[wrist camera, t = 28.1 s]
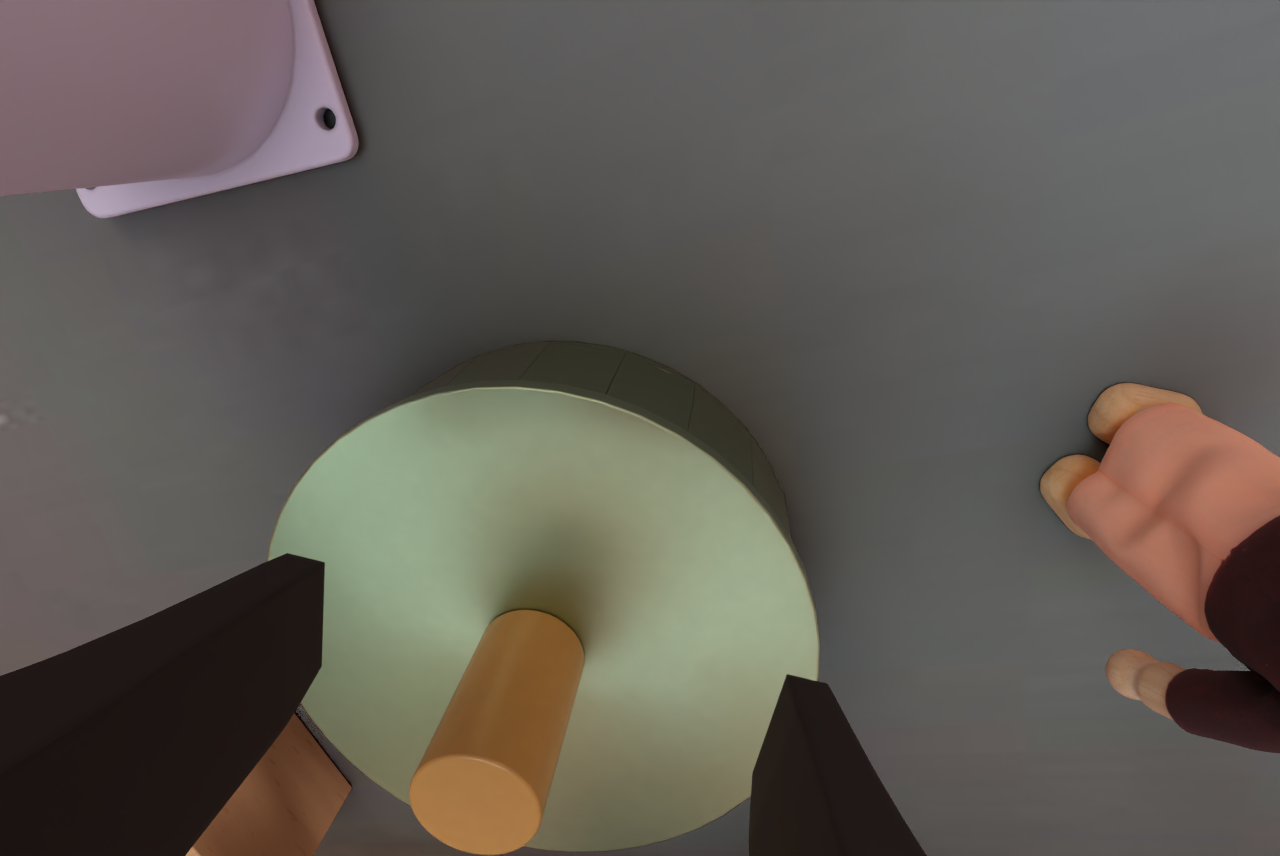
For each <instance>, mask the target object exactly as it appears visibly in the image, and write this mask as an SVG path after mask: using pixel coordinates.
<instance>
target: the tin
mask: <svg viewBox="0 0 1280 856" xmlns="http://www.w3.org/2000/svg"><path fill="white" fill-rule="evenodd" d="M498 380H526V381H536V382H546V383H555V384H564V385H568V386H572V387H577V388H581V389H585V390H590V391H594V392H598V393H603V394H606V395H608V396H611V397H614V398H617V399H619V400H622V401H625V402H628V403H630V404H633V405H636V406H639V407H641V408H644V409H646V410H648V411H650V412H652V413H654V414H655V415H657V416H659V417H661V418H663V419H665V420H667V421H669V422H671V423H673V424H675V425H677V426H679V427H681V428H682V429H684V430H685V431H687V432H688V433H690V434H691V435H693V436H694V437H696V438H697V439H699V440H700V441H702V442H703V443H705V444H706V445H707V446H709V447H710V448H712V449H713V450H715V451H716V452H717V453H718V454H719V455H720V456H722V457H723V458H724V459H725V460H726V461H727V462H728V463H730V464H731V465H732V466H733V467H734V468H735V469H736V470H737V471H739V472H740V473H741V474H742V475H743V476H744V477H745V478H746V479H747V480H748V481H749V482H750V484H751V485H752V486H753V487H754V488H755V489H756V490H757V492H758V493H759V494H760V495H761V496H762V497H763V498H764V500H765V501H766V502H767V503H768V504H769V505H770V507H771V508H772V510H773V511H774V513H775V514H776V516H777V517H778V519H779V520H780V522H781V524H782V525H783V527H784V528H785V530H786V531H787V533H788V534H789V536H790V538H791V535H790V528H789V521H788V516H787V509H786V503H785V497H784V495H783V492H782V491H781V489H780V487H779V485H778V483H777V480H776V478H775V475H774V473H773V470H772V468H771V467H770V465H769V463H768V461H767V460H766V458H765V456H764V454H763V453H762V451H761V449H760V447H759V446H758V444H757V443H756V442H755V440H754V439H753V438H752V436H751V435H750V434H749V433H748V431H747V430H746V429H745V427H744V426H743V425H742V424H741V422H740V421H739V420H738V419H737V418H736V417H735V416H734V415H733V414H732V413H731V412H730V411H729V410H728V409H727V408H726V407H725V406H724V405H723V404H722V403H721V402H720V401H718V400H717V399H716V398H714V397H713V396H712V395H710V394H709V393H708V392H706V391H705V390H704V389H703V388H701V387H700V386H699V385H697V384H696V383H695V382H693V381H691V380H689V379H688V378H686V377H684V376H682V375H681V374H679V373H677V372H675V371H674V370H672V369H670V368H669V367H666V366H664V365H662V364H659V363H657V362H654V361H652V360H650V359H647V358H645V357H643V356H640V355H637V354H634V353H630V352H626V351H623V350H619V349H616V348H612V347H608V346H602V345H595V344H588V343H581V342H550V341H547V342H538V343H529V344H520V345H515V346H511V347H507V348H503V349H499V350H495V351H491V352H488V353H485V354H483V355H479V356H476V357H474V358H472V359H471V360H468V361H466V362H463V363H462V364H460V365H458V366H456V367H455V368H453V369H451V370H450V371H448V372H446V373H445V374H443V375H441V376H439V377H438V378H437V379H435V380H434V381H432V382H430V383H428V384H427V385H425V386H423V387H421V388H420V389H419V390H418V391H416V392H415V393H414V394H413V395H412V396H414V395H417V394H421V393H424V392H427V391H430V390H434V389H437V388H440V387H445V386H452V385H458V384H464V383H471V382H477V381H498ZM410 397H411V396H410Z"/></svg>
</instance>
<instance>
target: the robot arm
mask: <svg viewBox="0 0 1280 856" xmlns="http://www.w3.org/2000/svg"><path fill="white" fill-rule="evenodd" d="M328 108H329V109H330V110H332V111H333V113H334V115H335V117H336V124H335V126H334V128H333V129H330V128H328V127H327V126H326V124H325V122H324V116H323V115H324V113H325V110H327V109H328ZM358 146H359V142H358V135H357V132H356V129H355V126H354V123H353V120H352V117H351V114H350V111H349V108H348V104H347V101H346V98H345V95H344V92H343V89H342V86H341V83H340V80H339V77H338V74H337V71H336V67H335V64H334V61H333V58H332V55H331V52H330V49H329V46H328V43H327V40H326V37H325V34H324V30H323V27H322V24H321V21H320V18H319V15H318V12H317V9H316V6H315V3H314V0H0V196H8V195H18V194H28V193H39V192H49V191H59V190H69V189H76V191H77V193H78V195H79V198H80V200H81V202H82V204H83V205H84V207H85V208H86V210H87V211H88V212H90V213H91V214H92V215H94V216H96V217H98V218H110V217H116V216H120V215H124V214H128V213H132V212H136V211H141V210H145V209H149V208H153V207H157V206H161V205H165V204H170V203H174V202H178V201H182V200H186V199H190V198H194V197H199V196H203V195H207V194H211V193H215V192H219V191H223V190H227V189H232V188H236V187H240V186H244V185H248V184H252V183H256V182H261V181H265V180H269V179H273V178H277V177H281V176H285V175H290V174H294V173H298V172H302V171H306V170H310V169H314V168H319V167H323V166H327V165H331V164H335V163H339V162H343V161H347V160H349V159H351V158H353V157H354V155H355V154H356V153H357V150H358ZM324 576H325V562H322V561H318V560H314V559H309V558H305V557H301V556H297V555H293V554H289V553H286V554H284V555H281V556H279V557H277V558H274V559H272V560H270V561H267V562H265V563H263V564H261V565H259V566H257V567H254V568H252V569H250V570H248V571H246V572H244V573H242V574H239V575H237V576H235V577H233V578H231V579H229V580H227V581H225V582H223V583H221V584H218V585H216V586H214V587H212V588H210V589H208V590H206V591H204V592H201V593H199V594H197V595H195V596H193V597H191V598H189V599H186V600H184V601H182V602H180V603H178V604H176V605H173V606H171V607H169V608H167V609H165V610H163V611H160V612H158V613H156V614H154V615H152V616H150V617H147V618H145V619H143V620H140V621H138V622H136V623H133V624H131V625H128V626H126V627H124V628H121V629H119V630H117V631H114V632H112V633H109V634H107V635H105V636H102V637H100V638H98V639H95V640H93V641H90V642H88V643H86V644H83V645H81V646H79V647H76V648H74V649H71V650H69V651H67V652H64V653H62V654H59V655H56V656H54V657H51V658H49V659H46V660H43V661H41V662H38V663H35V664H33V665H30V666H27V667H25V668H22V669H19V670H16V671H13V672H11V673H8V674H5V675H2V676H0V856H185V855H186V854H187V853H188V852H189V850H190V849H191V848H192V847H193V845H194V844H195V843H196V841H197V840H198V839H199V838H200V836H201V835H202V834H203V832H204V831H205V830H206V829H207V827H208V826H209V825H210V824H211V822H212V821H213V820H214V818H215V817H216V816H217V815H218V813H219V812H220V811H221V809H222V808H223V807H224V806H225V804H226V803H227V802H228V801H229V799H230V798H231V797H232V795H233V794H234V793H235V792H236V790H237V789H238V788H239V787H240V785H241V784H242V783H243V781H244V780H245V779H246V778H247V776H248V775H249V774H250V772H251V771H252V770H253V769H254V767H255V766H256V765H257V763H258V762H259V761H260V760H261V758H262V757H263V756H264V754H265V753H266V752H267V750H268V749H269V748H270V747H271V745H272V744H273V743H274V741H275V740H276V739H277V737H278V736H279V735H280V733H281V732H282V731H283V729H284V728H285V727H286V725H287V724H288V722H289V721H290V719H291V717H292V716H293V714H294V712H295V711H296V709H297V708H298V706H299V704H300V703H301V701H302V700H303V698H304V696H305V694H306V693H307V691H308V689H309V687H310V686H311V684H312V682H313V681H314V679H315V677H316V675H317V674H318V672H319V670H320V669H321V667H322V641H323V608H324ZM749 856H927V855H926V854H925V852H924V851H923V849H922V848H921V846H920V845H919V843H918V842H917V840H916V838H915V837H914V835H913V834H912V832H911V830H910V829H909V827H908V826H907V824H906V822H905V821H904V819H903V818H902V816H901V814H900V812H899V811H898V809H897V807H896V806H895V804H894V802H893V801H892V799H891V797H890V796H889V794H888V792H887V791H886V789H885V787H884V786H883V784H882V782H881V781H880V779H879V777H878V775H877V773H876V772H875V770H874V768H873V766H872V765H871V763H870V761H869V759H868V757H867V756H866V754H865V752H864V750H863V748H862V747H861V745H860V743H859V741H858V739H857V737H856V736H855V734H854V732H853V730H852V728H851V726H850V724H849V723H848V721H847V719H846V717H845V715H844V713H843V711H842V709H841V707H840V706H839V704H838V702H837V700H836V698H835V696H834V694H833V693H832V691H831V689H830V687H829V686H828V684H826V683H822V682H818V681H814V680H810V679H806V678H802V677H797V676H793V675H789V674H787V675H786V678H785V681H784V684H783V687H782V690H781V692H780V695H779V698H778V701H777V704H776V707H775V710H774V712H773V715H772V718H771V721H770V724H769V727H768V730H767V733H766V735H765V738H764V741H763V744H762V747H761V750H760V753H759V755H758V758H757V761H756V764H755V767H754V770H753V773H752V787H751V804H750V825H749Z"/></svg>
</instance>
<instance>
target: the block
mask: <svg viewBox="0 0 1280 856" xmlns="http://www.w3.org/2000/svg"><path fill="white" fill-rule="evenodd" d="M350 790H351V786H350V785H349V783H348V782H347V781H346V779H345V778H344V777H343V775H342V774H341V773H340V772H339V770H338V769H337V768H336V766H335V765H334V764H333V762H332V761H331V760H330V759H329V757H328V756H327V755H326V753H325V752H324V751H323V749H322V748H321V747H320V746H319V744H318V743H317V742H316V740H315V739H314V738H313V736H312V735H311V734H310V732H309V731H308V730H307V729H306V727H305V726H304V725H303V723H302V722H301V721H300V719H299V718H298V717H297V716H296V714H295V713H294V714H293V716H292V717H291V719H290V721H289V722H288V724H287V725H286V727H285V728H284V729H283V731H282V732H281V733H280V735H279V736H278V737H277V739H276V740H275V741H274V743H273V744H272V745H271V747H270V748H269V749H268V750H267V752H266V753H265V754H264V756H263V757H262V758H261V760H260V761H259V762H258V763H257V765H256V766H255V767H254V769H253V770H252V771H251V772H250V774H249V775H248V776H247V778H246V779H245V780H244V781H243V783H242V784H241V785H240V787H239V788H238V789H237V790H236V792H235V793H234V794H233V795H232V797H231V798H230V799H229V801H228V802H227V803H226V804H225V806H224V807H223V808H222V809H221V811H220V812H219V813H218V815H217V816H216V817H215V818H214V820H213V821H212V822H211V824H210V825H209V826H208V827H207V829H206V830H205V831H204V832H203V834H202V835H201V836H200V838H199V839H198V840H197V841H196V843H195V844H194V845H193V847H192V848H191V849H190V850H189V852H188V853H187V854H186V855H185V856H313V855H314V853H315V852H316V850H317V848H318V846H319V845H320V843H321V841H322V839H323V838H324V836H325V834H326V832H327V831H328V829H329V827H330V825H331V824H332V822H333V820H334V818H335V817H336V815H337V813H338V811H339V810H340V808H341V806H342V804H343V803H344V801H345V799H346V797H347V796H348V794H349V792H350Z"/></svg>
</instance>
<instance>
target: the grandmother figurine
mask: <svg viewBox="0 0 1280 856" xmlns="http://www.w3.org/2000/svg"><path fill="white" fill-rule="evenodd" d="M1088 425H1089V428H1090V430H1091V432H1092V433H1093V434H1094V435H1095V436H1096V437H1098V438H1099V439H1100V440H1102V441H1104V442H1106V443H1107V444H1109V445H1110V446H1109V448H1108V449H1107V451H1106V454H1105V456H1104V458H1103V459H1102V461H1101V463H1100V462H1098V461H1096V460H1095V459H1093V458H1090V457H1088V456H1085V455H1078V454H1077V455H1071V456H1067V457H1064V458H1062V459H1060V460H1059V461H1057V462H1056V463H1055V464H1054V465H1053V466H1052V467H1051V468H1050V469H1048V470H1047V471H1046V472H1045V473H1044V475H1043V477H1042V478H1041V482H1040V491H1041V494H1042V496H1043V498H1044V499H1045V500H1046V502H1047V503H1048V504H1049V506H1050V507H1051V508H1052V509H1053V511H1054V512H1055V513H1056V514H1057V515H1058V517H1059V518H1060V519H1061V520H1062V522H1063V523H1064V524H1065V525H1066V526H1067V527H1068V528H1069V529H1070V530H1071V531H1072V532H1073V533H1075V534H1077V535H1079V536H1081V537H1083V538H1087V539H1091V540H1093V541H1094V543H1095V544H1096V545H1097V546H1098V547H1099V548H1100V549H1101V550H1102V551H1103V552H1104V553H1105V554H1106V555H1107V556H1108V557H1109V558H1110V559H1111V560H1112V561H1113V562H1115V563H1116V564H1117V565H1118V566H1119V567H1120V568H1121V569H1122V570H1123V571H1124V572H1126V573H1127V574H1128V575H1129V576H1130V577H1132V578H1133V579H1134V580H1135V581H1136V582H1138V583H1139V584H1140V585H1141V586H1142V587H1143V588H1145V589H1146V590H1147V591H1148V592H1149V593H1150V594H1152V595H1153V596H1154V597H1155V598H1156V599H1157V600H1158V601H1159V602H1161V603H1162V604H1163V605H1165V606H1166V607H1167V608H1168V609H1170V610H1171V611H1172V612H1174V613H1175V614H1176V615H1177V616H1179V617H1180V618H1181V619H1183V620H1184V621H1185V622H1186V623H1188V624H1189V625H1190V626H1191V627H1193V628H1194V629H1195V630H1197V631H1198V632H1200V633H1201V634H1202V635H1204V636H1206V637H1207V638H1209V639H1212V640H1215V641H1218V642H1220V643H1221V644H1222V645H1223V646H1224V647H1226V648H1227V649H1228V651H1229V652H1230V653H1231V654H1232V655H1233V656H1234V657H1235V658H1236V659H1237V660H1238V661H1240V662H1241V663H1243V664H1244V665H1245V666H1246V667H1247V668H1248V669H1249V670H1250V671H1213V670H1208V669H1201V670H1200V669H1195V668H1193V669H1188V670H1186V669H1184V668H1181V667H1179V666H1177V665H1174V664H1172V663H1167V662H1162V661H1160V662H1158V661H1157V660H1155V659H1154V658H1153V657H1152V656H1151V655H1149V654H1147V653H1145V652H1142V651H1139V650H1135V649H1123V650H1120V651H1117V652H1116V653H1114V654H1112V656H1111V657H1110V658H1109V659H1108V662H1107V664H1106V676H1107V678H1108V680H1109V682H1110V684H1111V685H1112V687H1113V688H1114V689H1115V690H1116V691H1118V692H1119V693H1120V694H1122V695H1124V696H1126V697H1128V698H1131V699H1135V700H1142V702H1143V703H1144V704H1145V705H1146V706H1147V707H1149V708H1150V709H1152V710H1154V711H1155V712H1157V713H1159V714H1161V715H1163V716H1165V717H1167V718H1169V719H1171V720H1173V721H1175V722H1176V723H1177V724H1178V725H1179V726H1180V727H1181V728H1182V729H1184V730H1185V731H1186V732H1189V733H1191V734H1195V735H1198V736H1202V737H1207V738H1212V739H1215V740H1219V741H1224V742H1228V743H1231V744H1235V745H1238V746H1242V747H1246V748H1249V749H1253V750H1259V751H1264V752H1272V753H1280V457H1278V456H1276V455H1275V454H1273V453H1272V452H1270V451H1268V450H1267V449H1266V448H1264V447H1263V446H1262V445H1260V444H1259V443H1258V442H1256V441H1254V440H1252V439H1251V438H1249V437H1247V436H1246V435H1244V434H1242V433H1240V432H1238V431H1236V430H1234V429H1232V428H1230V427H1228V426H1226V425H1224V424H1222V423H1220V422H1218V421H1215V420H1213V419H1211V418H1209V417H1207V416H1205V415H1203V414H1202V411H1201V409H1200V407H1199V406H1198V404H1197V403H1196V402H1195V401H1194V400H1193V399H1192V398H1190V397H1189V396H1186V395H1184V394H1181V393H1177V392H1173V391H1169V390H1163V389H1158V388H1153V387H1149V386H1145V385H1140V384H1134V383H1121V384H1117V385H1114V386H1112V387H1110V388H1108V389H1107V390H1105V391H1104V392H1103V393H1102V394H1101V395H1100V396H1099V398H1098V399H1097V400H1096V402H1095V403H1094V405H1093V407H1092V408H1091V410H1090V412H1089V414H1088Z"/></svg>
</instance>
